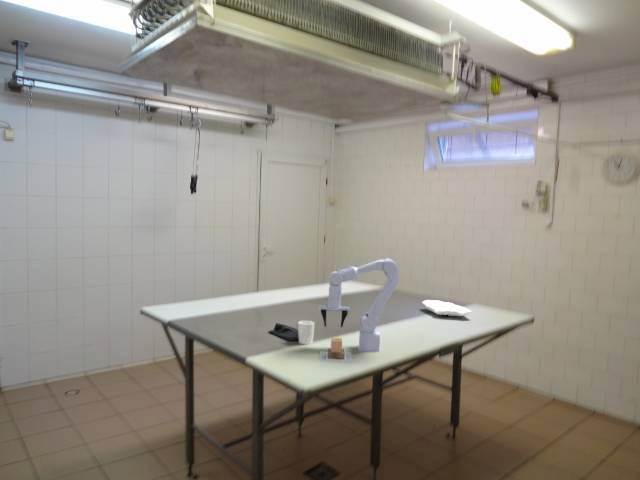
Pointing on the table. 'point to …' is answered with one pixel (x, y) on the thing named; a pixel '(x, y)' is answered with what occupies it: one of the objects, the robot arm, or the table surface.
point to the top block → (336, 345)
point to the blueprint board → (325, 359)
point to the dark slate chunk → (285, 332)
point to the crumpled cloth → (445, 308)
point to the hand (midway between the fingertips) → (333, 326)
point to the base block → (335, 354)
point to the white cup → (306, 332)
